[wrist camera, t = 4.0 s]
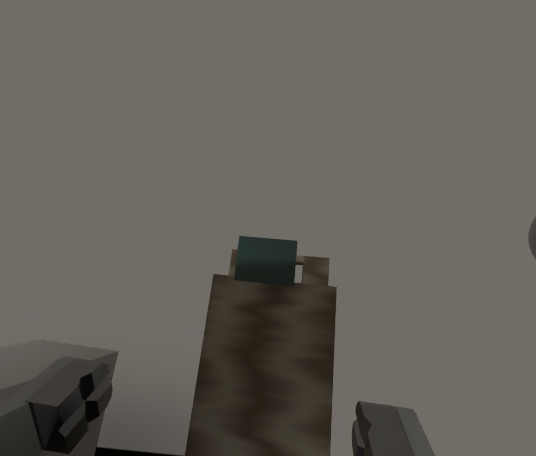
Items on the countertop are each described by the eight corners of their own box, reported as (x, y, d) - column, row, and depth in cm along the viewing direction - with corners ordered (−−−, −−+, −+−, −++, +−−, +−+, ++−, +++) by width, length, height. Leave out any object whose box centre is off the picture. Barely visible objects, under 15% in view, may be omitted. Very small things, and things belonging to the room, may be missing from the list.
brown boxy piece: (312, 534, 26) (326, 261, 33) (322, 652, 18) (338, 249, 25) (202, 509, 28) (237, 253, 35) (160, 608, 19) (219, 239, 26)
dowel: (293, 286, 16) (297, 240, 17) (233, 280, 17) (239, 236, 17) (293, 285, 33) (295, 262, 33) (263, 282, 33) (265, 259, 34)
